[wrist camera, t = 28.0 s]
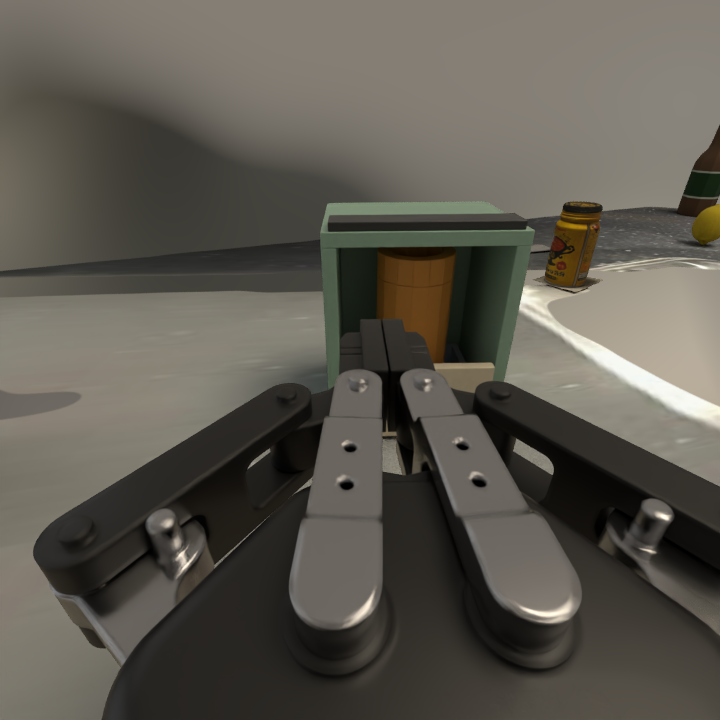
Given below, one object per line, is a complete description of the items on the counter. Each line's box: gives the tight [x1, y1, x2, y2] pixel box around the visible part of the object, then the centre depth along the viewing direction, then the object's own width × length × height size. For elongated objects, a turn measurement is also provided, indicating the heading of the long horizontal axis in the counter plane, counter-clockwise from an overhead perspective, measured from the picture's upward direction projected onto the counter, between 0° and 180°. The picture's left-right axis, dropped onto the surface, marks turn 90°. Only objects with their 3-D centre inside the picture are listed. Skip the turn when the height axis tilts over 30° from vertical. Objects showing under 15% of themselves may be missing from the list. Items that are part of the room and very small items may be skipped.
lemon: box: [692, 204, 720, 245], centre depth 83 cm, size 6×6×8 cm
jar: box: [376, 247, 456, 364], centre depth 35 cm, size 6×6×13 cm
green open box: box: [320, 202, 535, 390], centre depth 35 cm, size 14×11×17 cm
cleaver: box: [531, 244, 551, 252], centre depth 83 cm, size 13×1×5 cm
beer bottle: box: [677, 126, 720, 217], centre depth 106 cm, size 8×8×24 cm
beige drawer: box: [382, 343, 495, 436], centre depth 37 cm, size 11×11×6 cm
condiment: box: [534, 202, 602, 292], centre depth 63 cm, size 7×8×12 cm
